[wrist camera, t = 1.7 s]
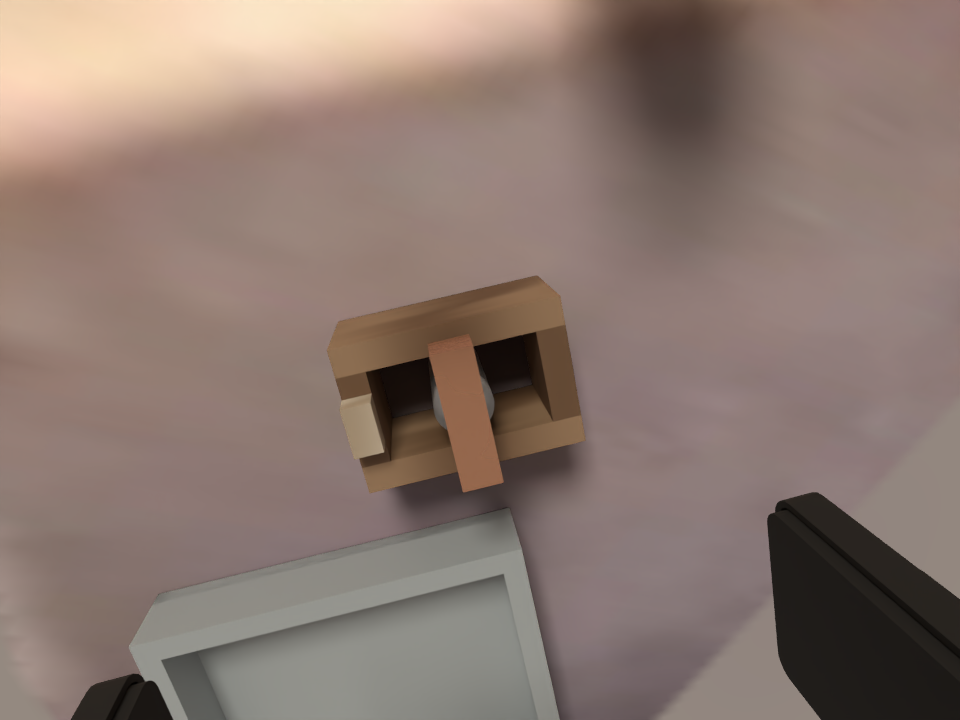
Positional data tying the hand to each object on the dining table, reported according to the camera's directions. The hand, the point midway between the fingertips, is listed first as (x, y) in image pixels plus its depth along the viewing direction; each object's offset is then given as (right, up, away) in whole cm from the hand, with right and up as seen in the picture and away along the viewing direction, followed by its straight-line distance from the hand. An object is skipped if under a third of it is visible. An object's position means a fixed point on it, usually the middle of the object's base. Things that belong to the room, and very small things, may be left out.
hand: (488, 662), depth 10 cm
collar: (-1, +4, +13) cm, 14 cm away
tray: (-4, -8, +17) cm, 19 cm away
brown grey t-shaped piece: (-1, +4, +13) cm, 14 cm away
